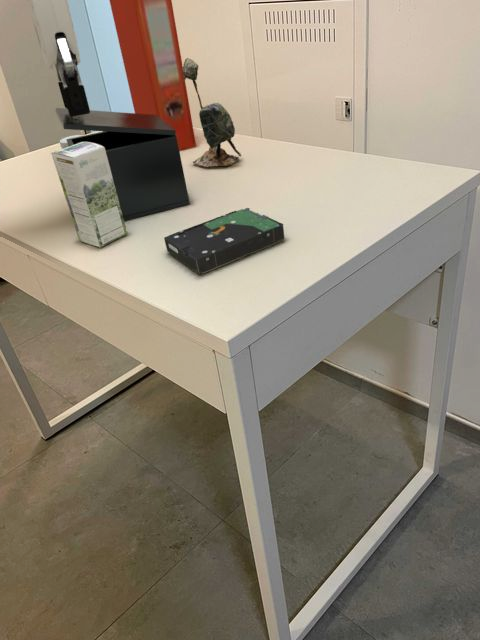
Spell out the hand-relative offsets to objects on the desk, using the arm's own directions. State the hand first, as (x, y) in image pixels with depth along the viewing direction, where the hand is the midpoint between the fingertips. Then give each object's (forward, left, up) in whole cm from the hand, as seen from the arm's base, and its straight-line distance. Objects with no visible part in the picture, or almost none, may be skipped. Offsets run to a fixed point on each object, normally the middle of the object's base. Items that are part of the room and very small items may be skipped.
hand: (77, 109), depth 89 cm
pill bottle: (-2, +15, -18) cm, 23 cm away
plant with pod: (+25, +11, -18) cm, 33 cm away
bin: (+5, 0, -17) cm, 18 cm away
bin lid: (+5, 0, -3) cm, 6 cm away
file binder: (+20, +35, -17) cm, 44 cm away
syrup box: (-2, -12, -17) cm, 21 cm away
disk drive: (+13, -27, -17) cm, 35 cm away
